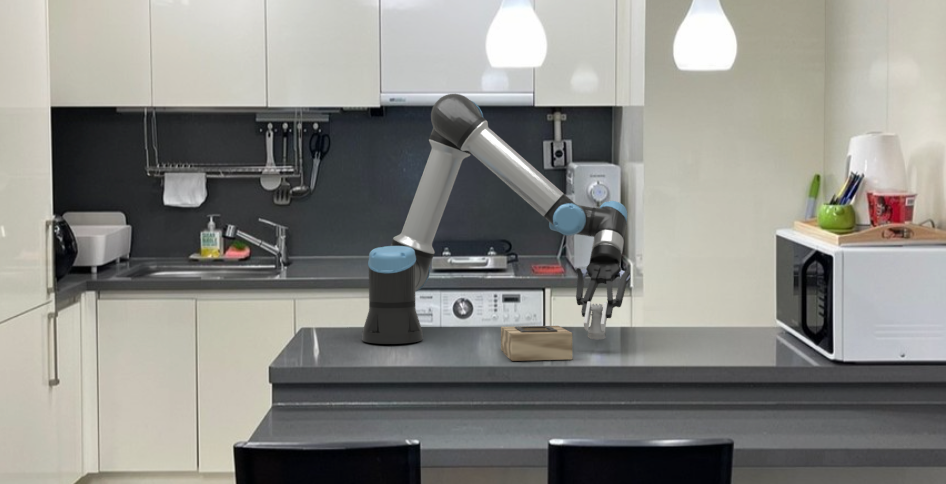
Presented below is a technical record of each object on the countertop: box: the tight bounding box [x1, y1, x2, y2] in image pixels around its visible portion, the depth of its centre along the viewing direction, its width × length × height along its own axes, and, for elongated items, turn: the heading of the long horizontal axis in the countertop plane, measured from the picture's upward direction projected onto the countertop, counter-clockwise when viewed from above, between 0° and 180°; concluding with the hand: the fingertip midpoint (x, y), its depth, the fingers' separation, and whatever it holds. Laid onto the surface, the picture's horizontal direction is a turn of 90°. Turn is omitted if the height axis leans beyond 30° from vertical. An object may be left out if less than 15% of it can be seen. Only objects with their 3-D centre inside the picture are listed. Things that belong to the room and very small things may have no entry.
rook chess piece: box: [587, 303, 607, 340], centre depth 228 cm, size 4×4×8 cm
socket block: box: [500, 325, 573, 362], centre depth 225 cm, size 14×14×6 cm
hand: (594, 326), depth 224 cm, fingers closed on rook chess piece, 3 cm apart
